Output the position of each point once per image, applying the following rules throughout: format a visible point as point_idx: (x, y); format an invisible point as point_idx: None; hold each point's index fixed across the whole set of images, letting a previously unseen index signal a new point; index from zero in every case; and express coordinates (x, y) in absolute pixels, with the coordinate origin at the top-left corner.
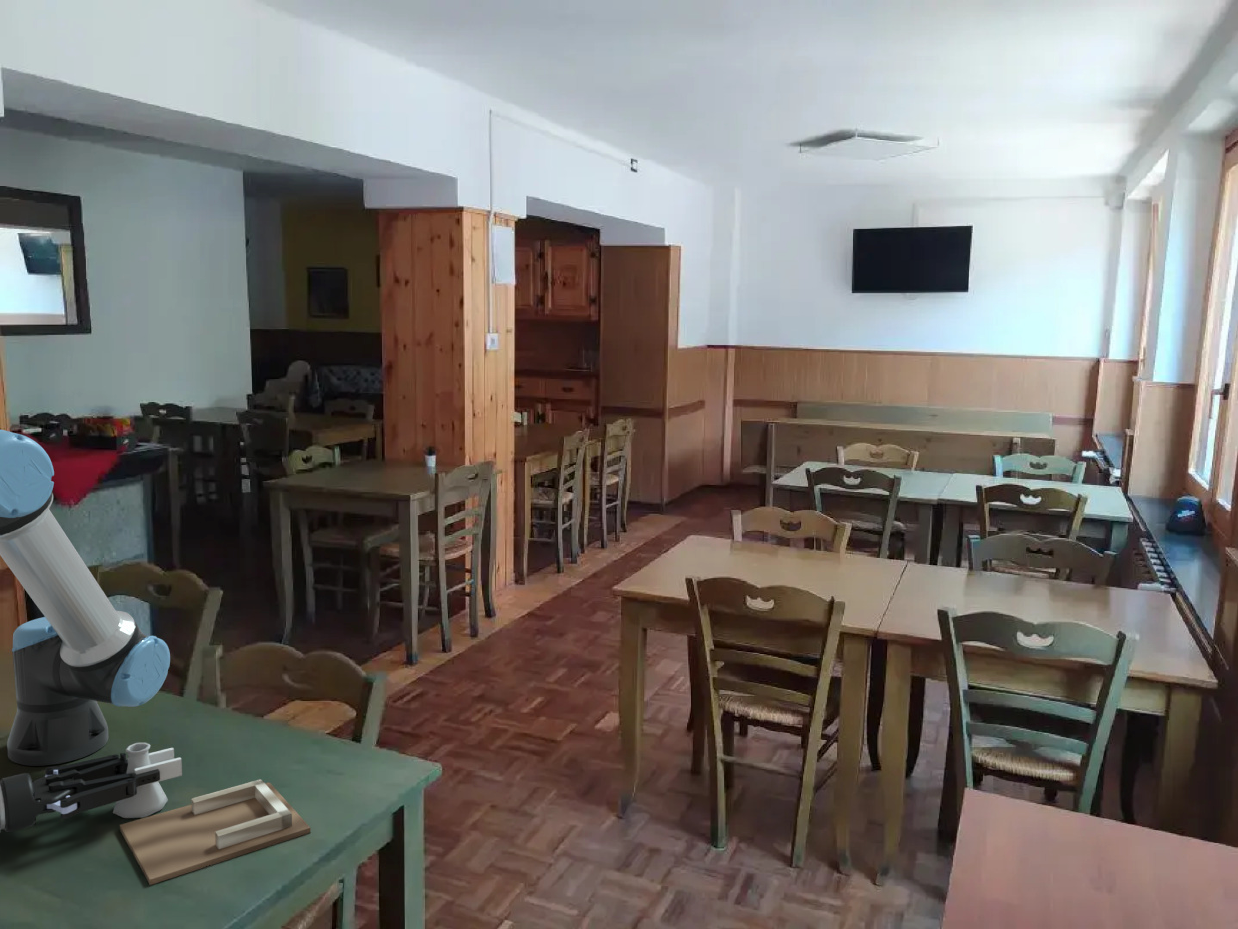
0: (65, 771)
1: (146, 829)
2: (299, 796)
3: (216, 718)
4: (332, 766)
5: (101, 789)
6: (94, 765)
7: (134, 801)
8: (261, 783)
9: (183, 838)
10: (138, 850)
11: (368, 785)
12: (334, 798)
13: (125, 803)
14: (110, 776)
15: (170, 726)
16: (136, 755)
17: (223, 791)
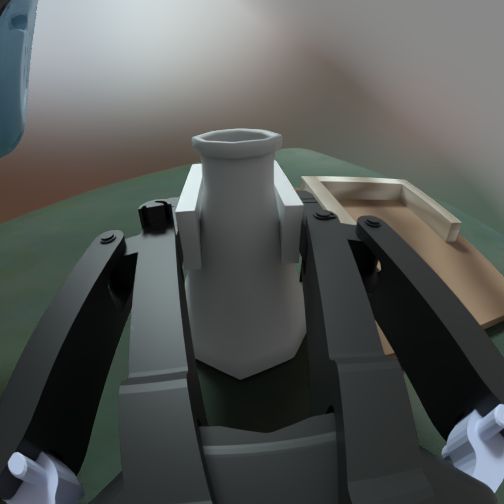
0: (43, 424)
1: None
2: None
3: (41, 214)
4: None
5: (444, 287)
6: (95, 305)
7: (295, 303)
8: (316, 177)
9: (431, 266)
10: None
11: (317, 163)
12: (335, 175)
13: (281, 327)
14: (185, 298)
15: (6, 245)
16: (270, 155)
17: (325, 198)
